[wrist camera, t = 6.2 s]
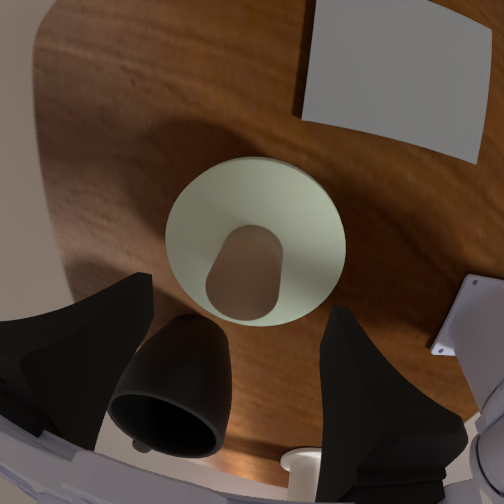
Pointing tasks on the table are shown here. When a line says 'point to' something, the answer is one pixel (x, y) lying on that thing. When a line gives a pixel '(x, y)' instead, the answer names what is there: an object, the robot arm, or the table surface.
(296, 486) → the candle
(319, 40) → the mat
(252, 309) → the lid
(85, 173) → the table surface
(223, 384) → the mug
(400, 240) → the table surface
